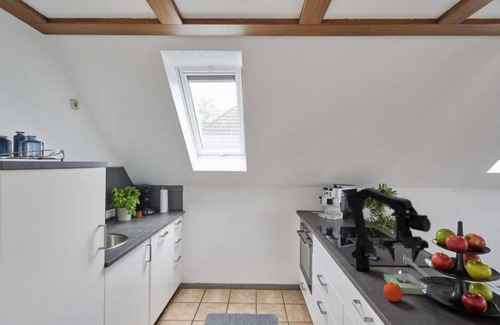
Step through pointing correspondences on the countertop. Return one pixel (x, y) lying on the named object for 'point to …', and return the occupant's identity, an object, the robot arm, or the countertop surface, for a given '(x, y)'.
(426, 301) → the countertop surface
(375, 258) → the snack package
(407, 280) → the bushing
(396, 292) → the clementine
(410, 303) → the countertop surface
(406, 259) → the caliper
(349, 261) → the countertop surface
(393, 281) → the jig
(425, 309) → the countertop surface
